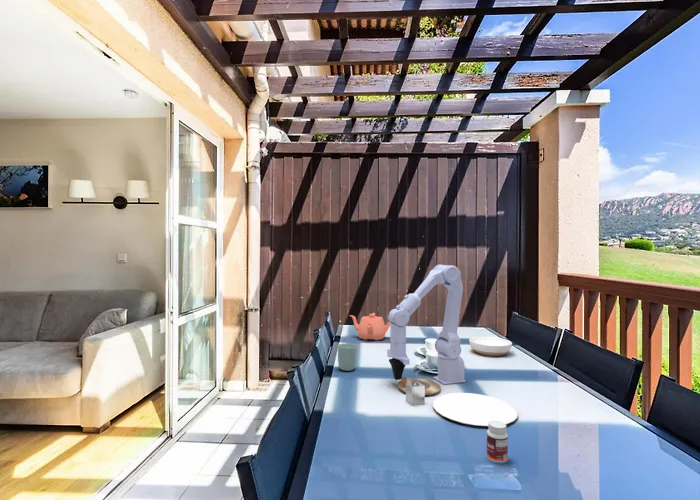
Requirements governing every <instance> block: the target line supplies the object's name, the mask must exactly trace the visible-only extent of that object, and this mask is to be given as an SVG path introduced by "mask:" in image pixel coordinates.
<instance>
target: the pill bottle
mask: <svg viewBox="0 0 700 500" xmlns="http://www.w3.org/2000/svg"><path fill="white" fill-rule="evenodd" d="M487 428H488V429H487V430H486V458H487V459H488V460H489V459H490V460H492V461H491V462H493V461H494V462H493V463H496V462H505V461H507V462H508V460H509V458H508V456H509V455H508V453H509V452H508V450H509V447H508V446H509V433H508V432H507V425H506V424H505V423H503V422H501V421H496V420H492V421H489V423H488V427H487ZM507 459H508V460H507ZM490 460H489V461H490ZM505 463H506V462H505Z"/></svg>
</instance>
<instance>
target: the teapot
mask: <svg viewBox="0 0 700 500" xmlns="http://www.w3.org/2000/svg"><path fill="white" fill-rule="evenodd" d="M348 315H349V317H351V318H352V321H353V327H354V329H355V331H356V332H357V335H358V338H359V339H362V341H368V340H374V341H376V342H377V341H380V340H383V339H384V338H385V335H386V334H387V332H388V331H389V329H390V322H389V321H388V322H387V323H386V324H385V321H384V318H383V316H376V313H375V312H372V313H369V314H368V315H365V316H362V317H361V319H360V322H359V323H358V321H357V317H356V316H355V315H352V314H351V315H350V314H348Z"/></svg>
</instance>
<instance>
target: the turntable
mask: <svg viewBox="0 0 700 500" xmlns="http://www.w3.org/2000/svg"><path fill="white" fill-rule="evenodd" d="M416 381H418V382H420V383H421V384H423V385H424V386H425V396H430V395H435V394H438V393H439V392H441V387H442V386H441V385H440V383H439V382H437V381H434V380H431V379H426V378H419V377H417V378H415V377H413V378H412V377H411V378H410V377H409V378H407V377H403V376H402V378H401V379H400V380H399V381H398V382H397V388H398V389H399V390H400V391H402V392H404V393H406V383H408V382H416Z"/></svg>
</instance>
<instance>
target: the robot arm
mask: <svg viewBox="0 0 700 500" xmlns="http://www.w3.org/2000/svg"><path fill="white" fill-rule="evenodd" d="M441 284H442V285H443V286H444V287H445V289H446V290H447V295H446V302H445V303H446V304H445V310H444V315H443V323H442V328H441V329H442V330H441V331H440V332H439V333H438V335H437V338H436V340H435V342H434V349H435V350H436V352H437V375H435V376H433V377H432V378H433V379H434V380H436V381H438V383H441V384H443V385H452V384H458V383H466V380H465V362H464V361H465V360H464V359H463V358H462V357H461V356H460V355H461V353H462V347H461V339H460V337H459V334H458V327H459V322H460V321H459V319H460V315H461V314H460V313H461V307H462V301H463V300H462V299H463V292H464V284H463V281H462V272H461V270H460V269H459V268H458V267H457V266H455V265H453V264H451V265H449V264H448V265H447V264H441V263H440V264H436V266H434V267H433V268H432V269H431V270H430V271H429V273H428V275H427V277H426V278H425V279H424V280H423V281H422V283H421V284H420V285H419V286H418V288H417V289H416V290H415V291H414V292H413V293H408V294H405V295H404V297H403V300H402V301H401V302H400V303H399V304H397V305H395V308H393V309H391V310H390V311H389V315H387V320H388V322H390V327H389V330H390V331H389V332H390V333H389V336H390V337H389V338H390V339H389V342H390V347H389V349H388V348H387V351H386V352H387V355H386V356H387V357H388V358H389V359H388V361H389V364H390V366H391V369H392V374H393V379H394V380H396V381H398V380H399V381H401V378H403V373H404V370H405V368H406V366H407V365H409V366H410V358H409V357H408V355H407V324H409V321H410V317H411V316H412V314H413V313H414V312H415V311H416V310H417V309H418V308H419V307H420V306H421V304H422V302H421V301H422V299H423V298H424V297H425V296H426V295H427V294H428V293H429V292H430V291H431V290H433V288H434V287H435V286H437V285H441Z"/></svg>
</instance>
